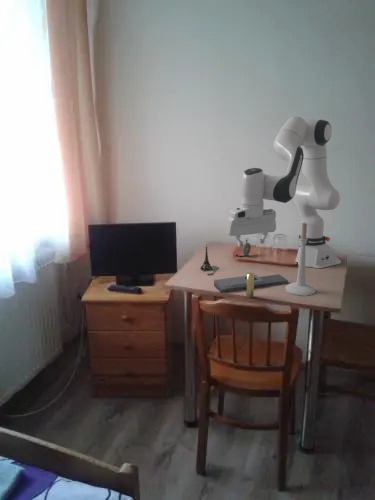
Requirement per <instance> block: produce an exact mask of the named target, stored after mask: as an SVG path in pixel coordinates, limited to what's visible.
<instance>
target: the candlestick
mask: <svg viewBox="0 0 375 500" xmlns="http://www.w3.org/2000/svg"><path fill="white" fill-rule="evenodd" d="M306 232H307V223H305V222H304V223H302V233H301V238H299V237H298V240H299V239H300V243H301V247H300V248H301V249H300V258H299V264H298V268H297V277H296V281H295V282H291V283H289V284H288V283H287V285H286V286H285V287H284V288H285V289H284V291H286V293H288V294H291V295H293V294H294V295H293V296H297V295H302V296H301V297H306V296H305V295H310V296H313V295H315V294H316V293H317V288H316V287H315V286H314V285H312V284H310V283H307V282H306V266H305V248H306V247H305V245H306V243H307V240H308V239H307V238H306ZM315 292H316V293H315ZM314 293H315V294H314ZM312 294H313V295H312Z"/></svg>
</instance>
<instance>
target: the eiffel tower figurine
mask: <svg viewBox="0 0 375 500" xmlns="http://www.w3.org/2000/svg"><path fill="white" fill-rule="evenodd" d="M199 269H200V270H201V271H202V272H203V273H205V272H210V271H212V272H211V273H207V276H213V275H214V274H215V273H216V272H217V271H218V270H219V269H220V267H218V266H217V265H211V263H210V261H209V256H208V246H207V244H206V246H205V258H204V262H202V265H201V266H200V268H199Z"/></svg>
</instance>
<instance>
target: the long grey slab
mask: <svg viewBox="0 0 375 500" xmlns="http://www.w3.org/2000/svg"><path fill="white" fill-rule="evenodd" d="M213 282H214V283H213V285H214V287H215V288H216V290H218V291H219V293H227V292H233V291H240V290H241V291H242V290H246V287H247V275H243V276H235V277H227V278H226V277H225V278H218V279H214V280H213ZM284 284H288V279H287V278H285V277H284V276H282V275H281V274H272V275H271V274H270V275H263V276H258V275H257V274H254V289H255V288H263V287H264V288H265V287H270V286H278V285H284Z"/></svg>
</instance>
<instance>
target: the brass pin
mask: <svg viewBox="0 0 375 500" xmlns="http://www.w3.org/2000/svg"><path fill="white" fill-rule="evenodd" d="M254 275H255V273H253V272H247V273H246V276H247V287H246V289H245V290H246V294H245V295H246V296H245V297H246V298H248V299H253V298H254V294H255V291H254V289H255V288H254Z"/></svg>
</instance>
